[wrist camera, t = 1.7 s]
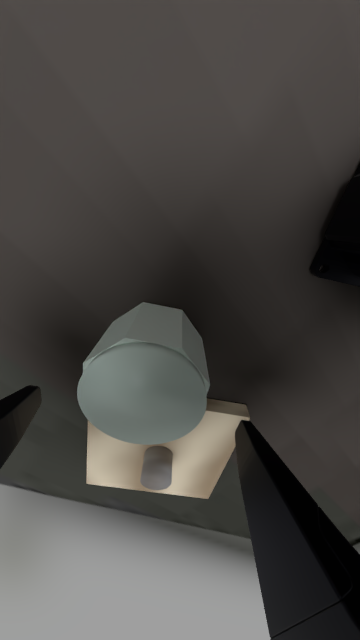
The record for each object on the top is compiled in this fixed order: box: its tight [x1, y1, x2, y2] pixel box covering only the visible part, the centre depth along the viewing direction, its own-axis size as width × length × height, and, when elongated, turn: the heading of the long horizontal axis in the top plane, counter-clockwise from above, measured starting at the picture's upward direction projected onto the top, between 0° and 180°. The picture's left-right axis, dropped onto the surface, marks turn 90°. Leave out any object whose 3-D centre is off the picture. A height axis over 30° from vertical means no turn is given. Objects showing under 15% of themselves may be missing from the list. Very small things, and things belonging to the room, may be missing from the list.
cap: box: [77, 302, 210, 445], centre depth 12 cm, size 6×6×5 cm
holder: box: [87, 398, 250, 499], centre depth 17 cm, size 12×12×3 cm
